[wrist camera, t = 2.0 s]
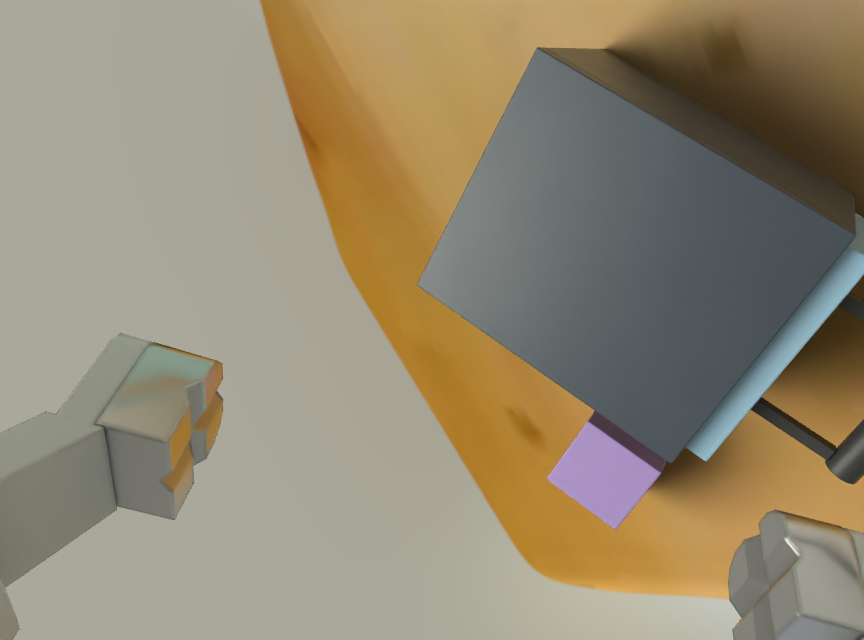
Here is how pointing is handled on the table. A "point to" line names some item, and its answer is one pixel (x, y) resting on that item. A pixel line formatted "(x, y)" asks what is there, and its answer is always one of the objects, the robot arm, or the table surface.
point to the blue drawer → (860, 448)
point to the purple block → (606, 470)
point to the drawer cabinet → (634, 243)
